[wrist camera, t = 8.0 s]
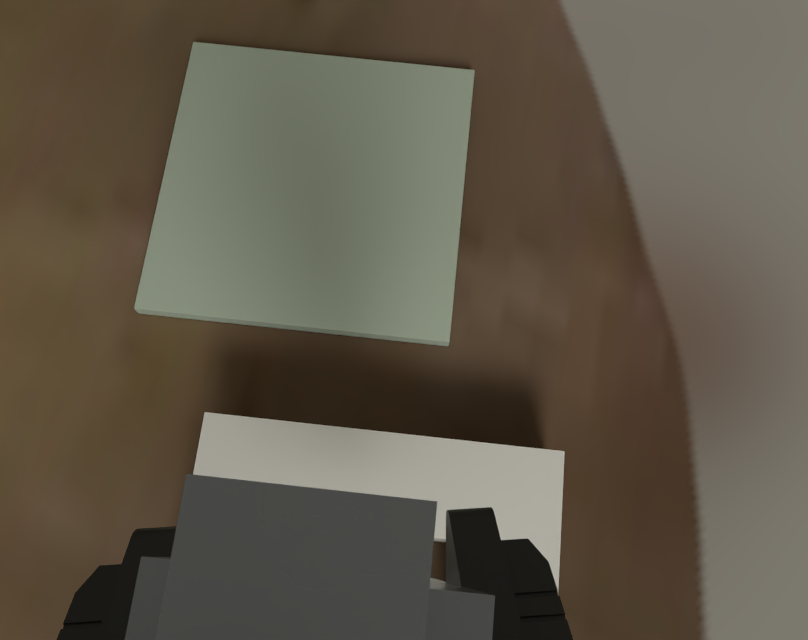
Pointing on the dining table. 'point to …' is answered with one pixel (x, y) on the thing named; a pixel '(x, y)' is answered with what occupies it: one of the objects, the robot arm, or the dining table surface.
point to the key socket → (396, 471)
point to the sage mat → (312, 195)
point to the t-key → (301, 569)
